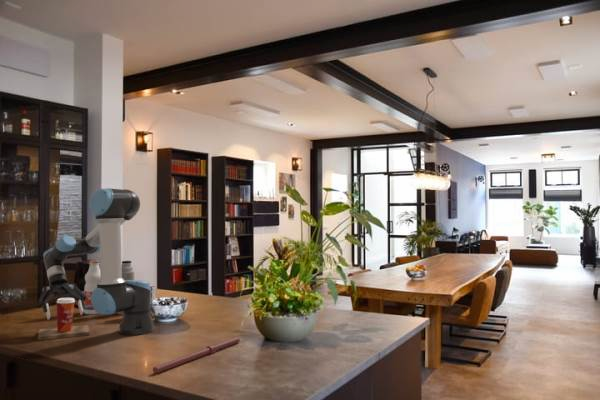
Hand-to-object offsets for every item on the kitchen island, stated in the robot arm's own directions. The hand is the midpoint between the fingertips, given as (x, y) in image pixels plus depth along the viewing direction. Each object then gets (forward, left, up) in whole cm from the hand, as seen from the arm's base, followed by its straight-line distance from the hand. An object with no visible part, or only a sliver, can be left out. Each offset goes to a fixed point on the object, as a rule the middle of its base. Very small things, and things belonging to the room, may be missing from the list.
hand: (66, 315), depth 211 cm
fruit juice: (+22, -41, -9) cm, 48 cm away
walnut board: (+2, -1, -9) cm, 9 cm away
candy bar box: (-10, -41, -9) cm, 43 cm away
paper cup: (+2, -1, -7) cm, 8 cm away
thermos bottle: (+5, -46, -9) cm, 47 cm away
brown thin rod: (-73, +8, -9) cm, 74 cm away
